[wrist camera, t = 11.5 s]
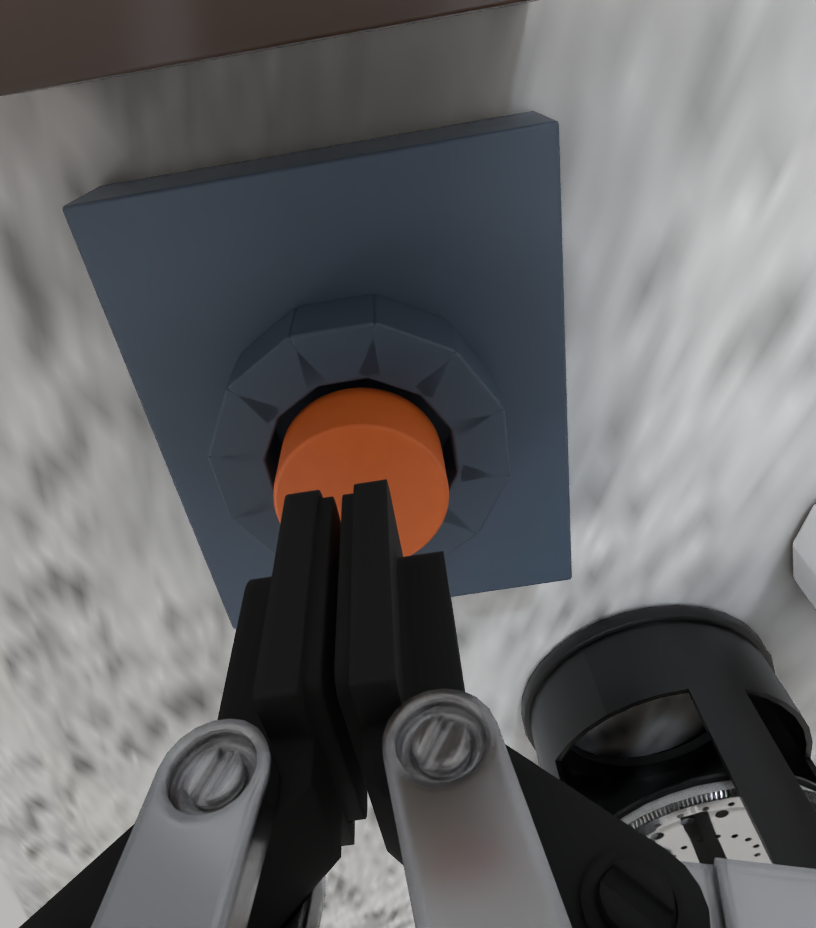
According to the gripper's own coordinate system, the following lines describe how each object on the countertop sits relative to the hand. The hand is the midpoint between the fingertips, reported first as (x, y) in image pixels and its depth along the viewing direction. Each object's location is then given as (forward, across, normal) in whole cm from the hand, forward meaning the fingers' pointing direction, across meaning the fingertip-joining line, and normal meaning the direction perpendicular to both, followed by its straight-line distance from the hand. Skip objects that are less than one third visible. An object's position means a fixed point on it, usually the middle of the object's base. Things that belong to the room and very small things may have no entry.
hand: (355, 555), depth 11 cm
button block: (+8, 0, +1) cm, 8 cm away
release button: (+4, 0, +1) cm, 4 cm away
